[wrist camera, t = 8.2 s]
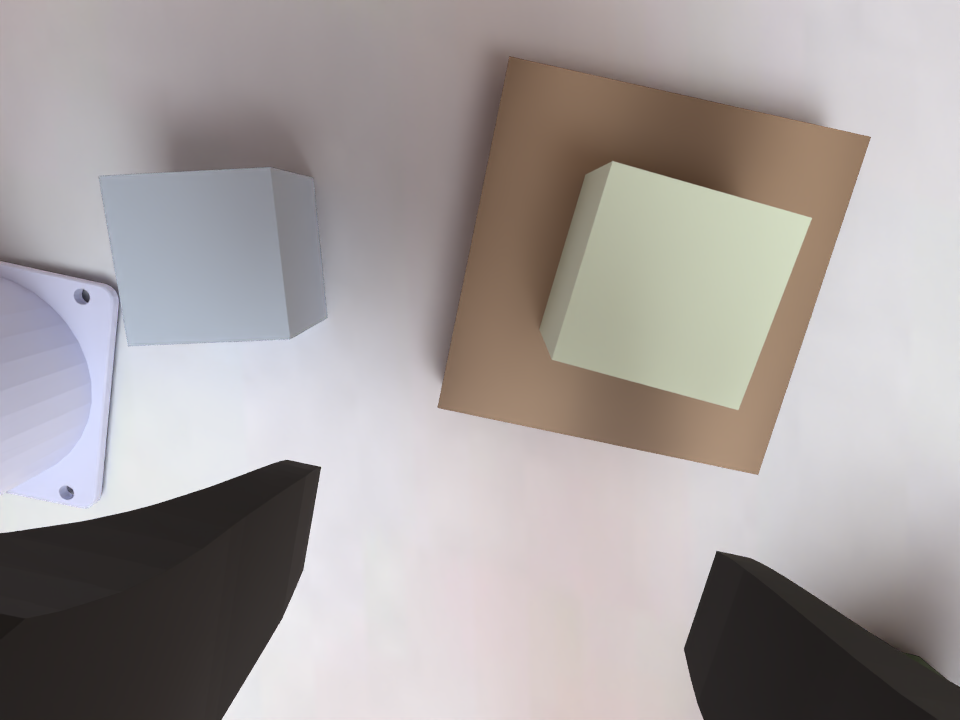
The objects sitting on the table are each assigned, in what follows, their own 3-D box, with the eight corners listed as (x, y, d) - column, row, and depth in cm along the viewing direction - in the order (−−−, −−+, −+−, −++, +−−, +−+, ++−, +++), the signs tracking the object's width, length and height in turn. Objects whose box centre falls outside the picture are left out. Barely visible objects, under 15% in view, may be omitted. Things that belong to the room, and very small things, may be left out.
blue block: (196, 323, 21) (127, 346, 17) (176, 184, 20) (98, 175, 16) (328, 317, 21) (290, 339, 17) (314, 178, 20) (270, 167, 16)
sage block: (539, 329, 18) (551, 359, 14) (585, 174, 17) (612, 160, 13) (685, 369, 18) (738, 410, 14) (739, 218, 17) (812, 217, 13)
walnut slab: (445, 382, 22) (437, 407, 19) (507, 81, 19) (509, 56, 16) (722, 440, 22) (757, 474, 19) (814, 149, 20) (871, 136, 17)
